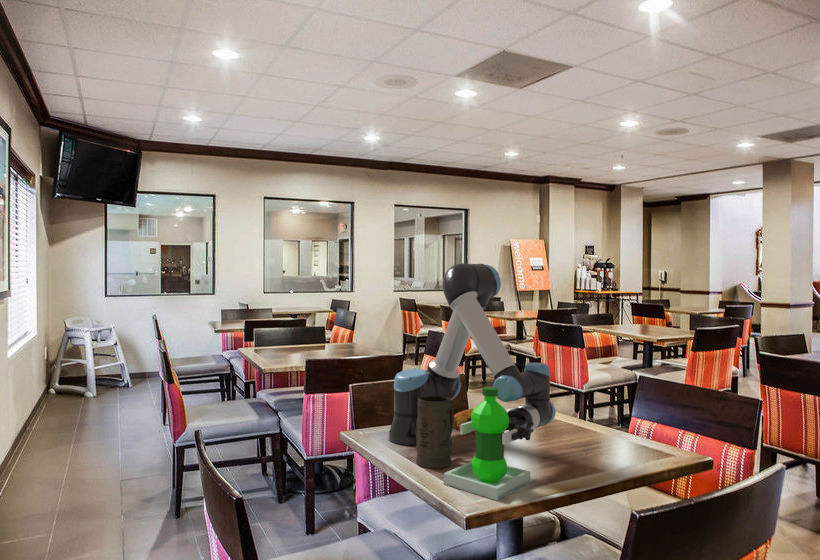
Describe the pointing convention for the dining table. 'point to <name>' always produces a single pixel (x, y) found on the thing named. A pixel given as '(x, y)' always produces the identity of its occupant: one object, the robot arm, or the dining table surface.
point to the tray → (471, 483)
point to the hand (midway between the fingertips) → (481, 434)
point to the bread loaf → (462, 419)
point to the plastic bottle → (489, 437)
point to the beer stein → (434, 431)
